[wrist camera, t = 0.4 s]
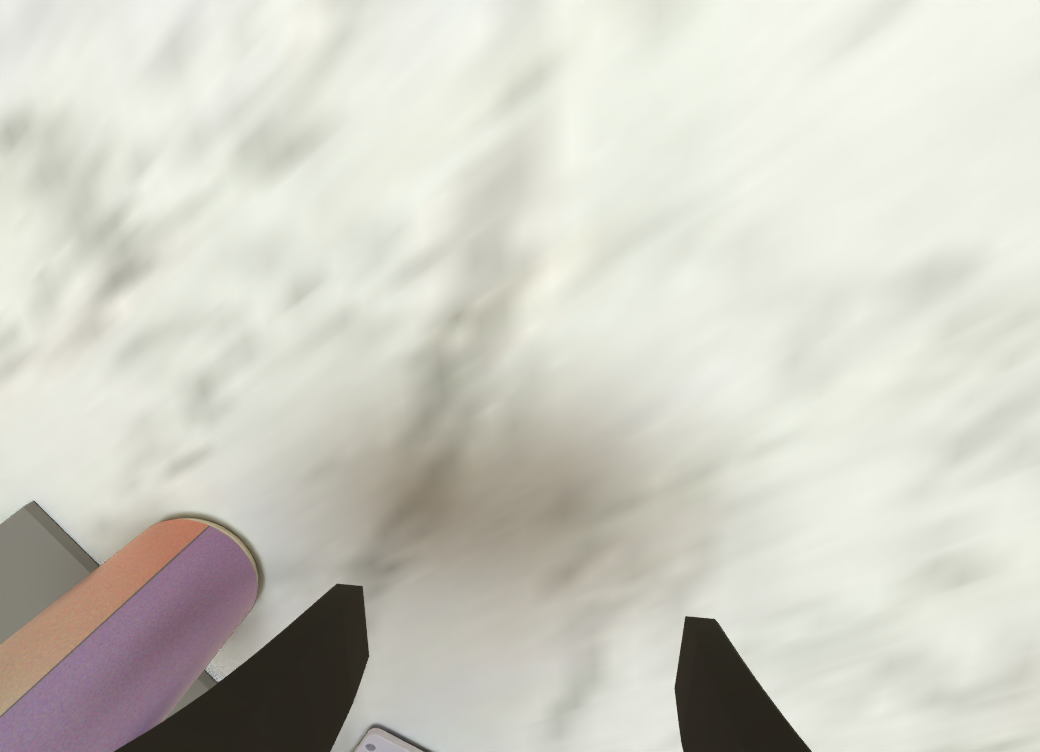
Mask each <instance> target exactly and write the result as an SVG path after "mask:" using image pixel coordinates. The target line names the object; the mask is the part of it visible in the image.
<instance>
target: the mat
mask: <svg viewBox="0 0 1040 752" xmlns="http://www.w3.org/2000/svg"><path fill="white" fill-rule="evenodd" d="M98 567H99V566H98V565H97V564H96V563H95V562H94V561H93V560H92V559H91V558H90V557H89V556H88V555H87V554H86V553H85V552H84V551H83V550H82V549H81V548H80V547H79V546H78V545H77V544H76V543H75V542H74V541H73V540H72V539H71V538H70V537H69V536H68V535H67V534H66V533H65V532H64V531H63V530H62V529H61V528H60V527H59V526H58V525H57V524H56V523H55V522H54V521H53V520H52V519H51V518H50V517H49V516H48V515H47V514H46V513H45V512H44V511H43V510H42V509H41V508H40V507H39V506H38V505H37V504H36V503H35V502H34V501H33V502H31V503H29V504H28V505H26V506H24V507H23V508H21V509H20V510H19V511H17V512H16V513H15V514H14V515H12V516H11V517H10V518H8V519H7V520H6V521H4V522H3V523H2V524H1V525H0V644H1V643H3V642H4V641H5V640H7V639H8V638H9V637H10V636H12V635H13V634H14V633H15V632H17V631H18V630H19V629H21V628H22V627H23V626H24V625H26V624H27V623H28V622H29V621H31V620H32V619H33V618H35V617H36V616H37V615H38V614H40V613H41V612H42V611H43V610H45V609H46V608H47V607H49V606H50V605H51V604H52V603H54V602H55V601H56V600H57V599H59V598H60V597H61V596H63V595H64V594H65V593H66V592H68V591H69V590H70V589H71V588H73V587H74V586H75V585H77V584H78V583H79V582H80V581H82V580H83V579H84V578H85V577H87V576H88V575H89V574H91V573H92V572H93V571H94V570H96V569H97V568H98ZM216 684H217V683H216V682H215V681H214V680H213V679H212V678H211V677H210V676H209V675H208V674H207V673H206V672H205V671H204V670H203V672H202V673H201V674H200V675H199V677H198V678H197V679H196V681H195V682H194V683H193V684H192V686H191V687H190V688H189V689H188V691H187V692H186V693H185V695H184V696H183V697H182V698H181V700H180V701H179V702H178V703H177V705H176V706H175V707H174V709H173V710H172V711H171V712H170V714H169V715H168V716H167V718H169V717H170V716H172V715H173V714H175V713H176V712H178V711H179V710H181V709H182V708H184V707H185V706H187V705H188V704H190V703H191V702H192V701H194V700H195V699H197V698H198V697H200V696H201V695H202V694H204V693H205V692H207V691H208V690H209V689H211V688H212V687H213V686H215V685H216ZM167 718H166V719H167ZM166 719H165V720H166Z"/></svg>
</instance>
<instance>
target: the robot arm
mask: <svg viewBox="0 0 1040 752" xmlns="http://www.w3.org/2000/svg"><path fill="white" fill-rule="evenodd" d="M368 658H369V651H368V640H367V629H366V618H365V607H364V596H363V586H355V585H344V584H336V585H335V586H334V587H333V588H332V589H330V590H329V591H328V592H327V593H326V594H324V595H323V596H322V597H321V598H320V599H319V600H318V601H316V602H315V603H314V604H313V605H312V606H311V607H310V608H308V609H307V610H306V611H305V612H304V613H303V614H302V615H300V616H299V617H298V618H297V619H296V620H295V621H294V622H292V623H291V624H290V625H289V626H288V627H287V628H285V629H284V630H283V631H282V632H281V633H280V634H278V635H277V636H276V637H275V638H274V639H272V640H271V641H270V642H269V643H268V644H266V645H265V646H264V647H263V648H262V649H261V650H259V651H258V652H257V653H256V654H254V655H253V656H252V657H251V658H250V659H248V660H247V661H246V662H244V663H243V664H242V665H241V666H239V667H238V668H237V669H235V670H234V671H233V672H232V673H230V674H229V675H228V676H226V677H225V678H224V679H223V680H221V681H220V682H219V683H217V684H216V685H215V686H213V687H212V688H211V689H209V690H208V691H207V692H205V693H204V694H202V695H201V696H200V697H198V698H197V699H195V700H194V701H192V702H191V703H190V704H188V705H187V706H185V707H184V708H182V709H181V710H179V711H178V712H176V713H175V714H173V715H172V716H170V717H169V718H167V719H166V720H164V721H163V722H161V723H160V724H158V725H157V726H155V727H153V728H152V729H150V730H149V731H147V732H145V733H144V734H142V735H140V736H139V737H137V738H135V739H134V740H132V741H130V742H129V743H127V744H125V745H124V746H122V747H120V748H119V749H117V750H115V751H114V752H330V751H331V749H332V747H333V745H334V743H335V741H336V738H337V736H338V734H339V732H340V730H341V728H342V726H343V723H344V721H345V719H346V717H347V715H348V713H349V711H350V708H351V706H352V704H353V701H354V699H355V696H356V693H357V690H358V687H359V685H360V682H361V679H362V676H363V673H364V670H365V667H366V664H367V661H368ZM675 695H676V704H677V713H678V721H679V728H680V736H681V742H682V747H683V752H812V751H811V750H810V749H809V748H808V746H807V745H806V744H805V743H804V741H803V740H802V739H801V738H800V737H799V735H798V734H797V733H796V732H795V730H794V729H793V728H792V726H791V725H790V724H789V723H788V721H787V720H786V719H785V717H784V716H783V715H782V713H781V712H780V711H779V709H778V708H777V707H776V705H775V704H774V703H773V701H772V700H771V699H770V697H769V696H768V695H767V693H766V692H765V691H764V689H763V688H762V687H761V685H760V684H759V682H758V681H757V680H756V678H755V677H754V675H753V674H752V673H751V671H750V670H749V668H748V667H747V665H746V664H745V662H744V661H743V660H742V658H741V657H740V655H739V654H738V652H737V651H736V649H735V648H734V646H733V645H732V643H731V642H730V640H729V639H728V637H727V636H726V634H725V632H724V631H723V629H722V628H721V626H720V625H719V623H718V622H717V621H716V620H715V619H709V618H698V617H687V616H685V623H684V630H683V636H682V643H681V650H680V656H679V663H678V670H677V676H676V683H675ZM354 752H424V751H422V750H420V749H418V748H416V747H414V746H412V745H410V744H408V743H406V742H404V741H403V740H401V739H399V738H397V737H395V736H393V735H391V734H389V733H387V732H385V731H383V730H382V729H379V728H372V729H370V730H369V731H368V732H367V734H366V735H365V736H364V738H363V739H362V741H361V742H360V743H359V745H358V746H357V748H356V749H355V750H354Z"/></svg>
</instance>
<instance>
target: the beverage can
mask: <svg viewBox="0 0 1040 752" xmlns="http://www.w3.org/2000/svg"><path fill="white" fill-rule="evenodd" d="M257 590H258V572H257V567H256V564H255V561H254V559H253V557H252V555H251V553H250V552H249V550H248V549H247V547H246V546H245V545H244V544H243V542H242V541H241V540H240V539H239V538H238V537H237V536H235V535H234V534H233V533H231V532H230V531H229V530H227V529H225V528H224V527H222V526H220V525H218V524H215V523H213V522H210V521H206V520H202V519H197V518H180V519H173V520H166V521H162V522H159V523H157V524H154V525H153V526H151V527H149V528H148V529H147V530H145V531H144V532H143V533H142V534H140V535H139V536H138V537H136V538H135V539H134V540H133V541H131V542H130V543H129V544H127V545H126V546H125V547H124V548H122V549H121V550H120V551H119V552H117V553H116V554H115V555H113V556H112V557H111V558H110V559H108V560H107V561H106V562H105V563H103V564H102V565H101V566H99V567H98V568H97V569H96V570H94V571H93V572H92V573H91V574H89V575H88V576H87V577H85V578H84V579H83V580H82V581H80V582H79V583H78V584H77V585H75V586H74V587H73V588H71V589H70V590H69V591H68V592H66V593H65V594H64V595H63V596H61V597H60V598H59V599H57V600H56V601H55V602H54V603H52V604H51V605H50V606H49V607H47V608H46V609H45V610H43V611H42V612H41V613H40V614H38V615H37V616H36V617H35V618H33V619H32V620H31V621H29V622H28V623H27V624H26V625H24V626H23V627H22V628H21V629H19V630H18V631H17V632H15V633H14V634H13V635H12V636H10V637H9V638H8V639H7V640H5V641H4V642H3V643H1V644H0V752H114V751H115V750H117V749H119V748H120V747H122V746H124V745H125V744H127V743H129V742H130V741H132V740H134V739H135V738H137V737H139V736H140V735H142V734H144V733H145V732H147V731H149V730H150V729H152V728H153V727H155V726H157V725H158V724H160V723H161V722H163V721H164V720H165V719H166V718H167V716H168V715H169V714H170V712H171V711H172V710H173V709H174V707H175V706H176V705H177V703H178V702H179V701H180V700H181V698H182V697H183V696H184V695H185V693H186V692H187V691H188V689H189V688H190V687H191V686H192V684H193V683H194V682H195V681H196V679H197V678H198V677H199V675H200V674H201V673H202V672H203V670H204V669H205V668H206V667H207V665H208V664H209V663H210V661H211V660H212V659H213V658H214V656H215V655H216V654H217V652H218V651H219V650H220V649H221V647H222V646H223V645H224V644H225V642H226V641H227V640H228V638H229V637H230V636H231V635H232V633H233V632H234V631H235V630H236V628H237V627H238V626H239V624H240V623H241V622H242V621H243V619H244V618H245V617H246V615H247V614H248V613H249V612H250V610H251V609H252V607H253V605H254V603H255V601H256V597H257Z"/></svg>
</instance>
